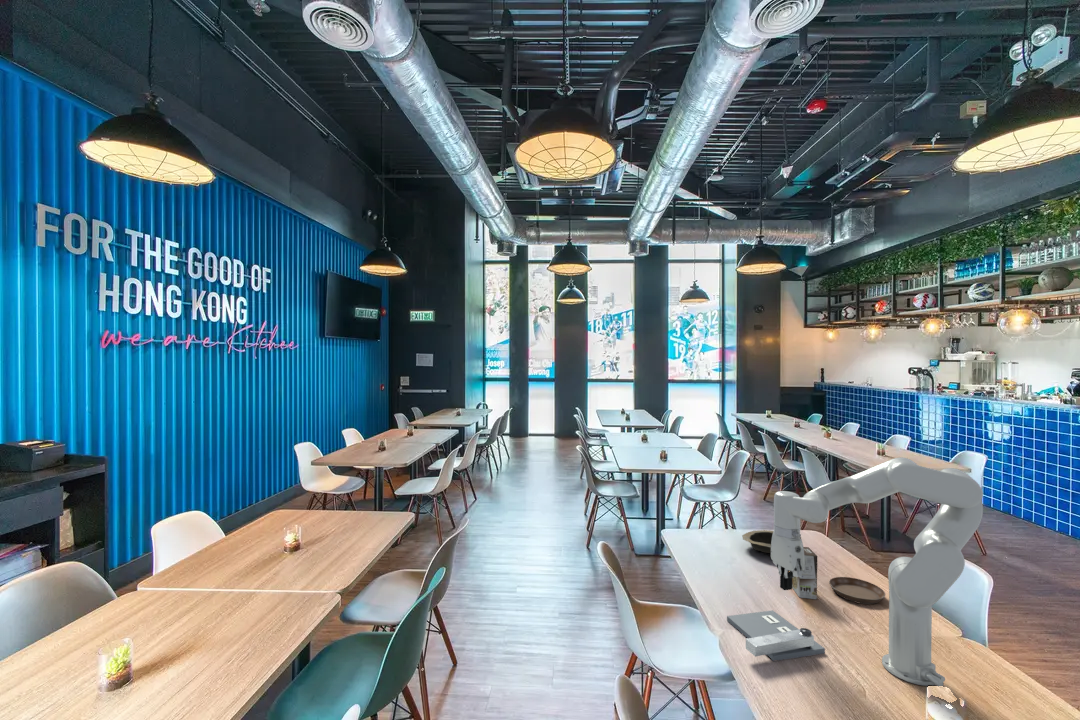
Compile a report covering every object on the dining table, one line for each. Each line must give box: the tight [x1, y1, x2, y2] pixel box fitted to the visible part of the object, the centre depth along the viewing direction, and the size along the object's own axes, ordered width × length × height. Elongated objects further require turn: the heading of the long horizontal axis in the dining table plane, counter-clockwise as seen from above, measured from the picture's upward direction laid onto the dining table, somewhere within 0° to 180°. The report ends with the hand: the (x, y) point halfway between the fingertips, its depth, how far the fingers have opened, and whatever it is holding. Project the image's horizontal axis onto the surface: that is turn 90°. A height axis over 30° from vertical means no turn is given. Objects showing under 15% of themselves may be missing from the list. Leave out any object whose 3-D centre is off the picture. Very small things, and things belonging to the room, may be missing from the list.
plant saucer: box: [828, 576, 886, 605], centre depth 177 cm, size 18×18×3 cm
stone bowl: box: [741, 529, 802, 554], centre depth 216 cm, size 25×25×9 cm
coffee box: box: [792, 546, 819, 600], centre depth 178 cm, size 9×6×16 cm
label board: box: [726, 609, 826, 662], centre depth 149 cm, size 22×18×2 cm
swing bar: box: [745, 627, 815, 658], centre depth 138 cm, size 22×4×4 cm, turn 106°
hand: (786, 588), depth 149 cm, fingers closed
